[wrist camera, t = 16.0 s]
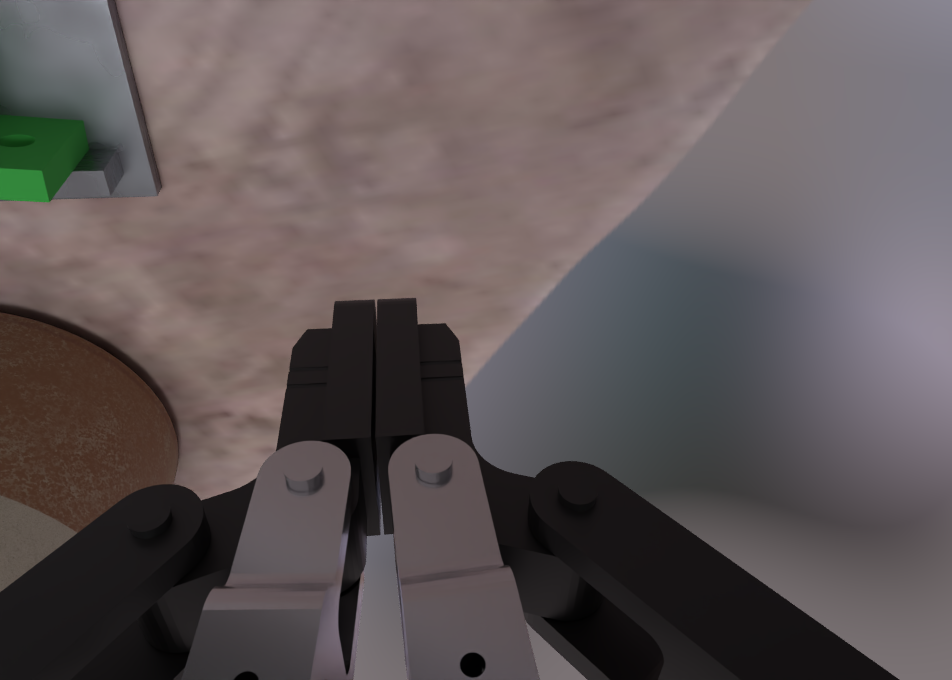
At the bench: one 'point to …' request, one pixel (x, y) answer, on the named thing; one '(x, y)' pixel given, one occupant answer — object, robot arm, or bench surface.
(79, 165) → the steel channel
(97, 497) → the planter
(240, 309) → the bench surface
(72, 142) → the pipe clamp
